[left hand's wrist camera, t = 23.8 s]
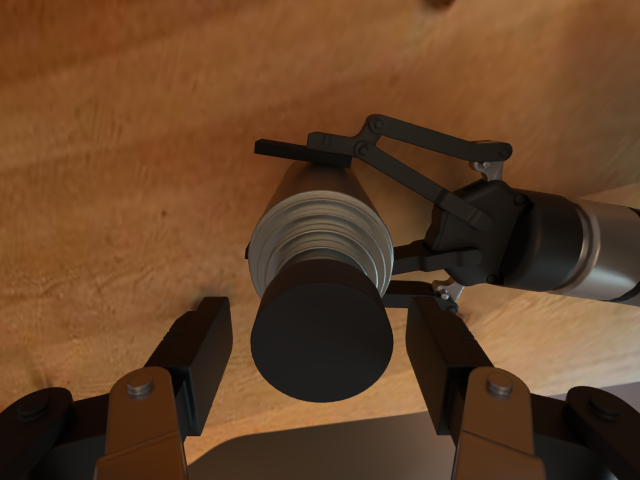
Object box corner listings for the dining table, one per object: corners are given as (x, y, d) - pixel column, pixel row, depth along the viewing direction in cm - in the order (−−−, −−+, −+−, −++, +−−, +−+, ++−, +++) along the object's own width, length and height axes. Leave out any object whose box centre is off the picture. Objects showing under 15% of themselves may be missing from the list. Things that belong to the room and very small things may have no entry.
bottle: (294, 237, 33) (255, 434, 13) (271, 165, 31) (177, 265, 10) (366, 218, 32) (446, 393, 12) (348, 143, 30) (408, 202, 10)
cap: (237, 287, 12) (223, 316, 10) (354, 237, 11) (361, 259, 10) (293, 379, 13) (289, 419, 12) (400, 339, 13) (413, 375, 11)
